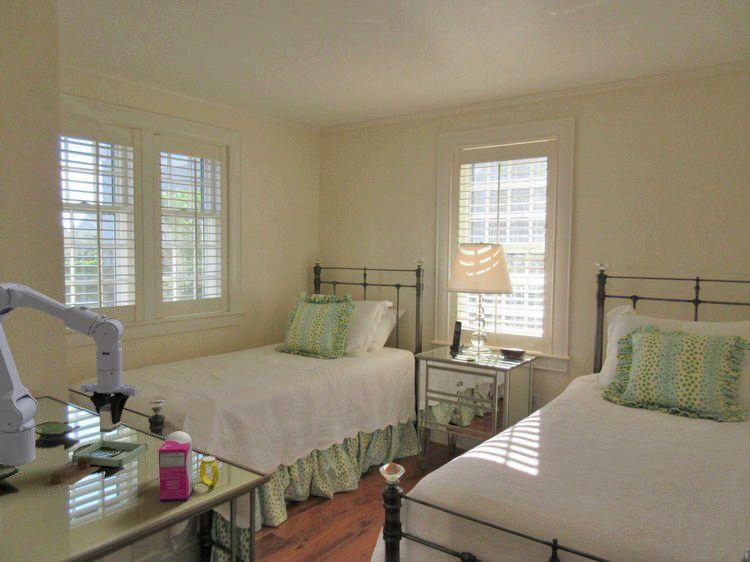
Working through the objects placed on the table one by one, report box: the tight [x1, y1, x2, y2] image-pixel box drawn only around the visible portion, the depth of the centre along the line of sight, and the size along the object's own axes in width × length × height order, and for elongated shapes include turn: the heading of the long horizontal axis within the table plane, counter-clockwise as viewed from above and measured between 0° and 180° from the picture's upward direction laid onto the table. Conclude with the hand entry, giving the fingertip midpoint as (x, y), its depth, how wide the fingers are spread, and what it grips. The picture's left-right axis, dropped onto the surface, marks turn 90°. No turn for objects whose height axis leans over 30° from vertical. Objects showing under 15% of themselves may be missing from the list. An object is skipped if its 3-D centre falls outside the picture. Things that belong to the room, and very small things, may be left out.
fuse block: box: [39, 457, 102, 486], centre depth 128 cm, size 8×10×3 cm
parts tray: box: [71, 439, 149, 468], centre depth 139 cm, size 13×11×2 cm
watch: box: [199, 456, 219, 487], centre depth 126 cm, size 6×3×6 cm, turn 47°
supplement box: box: [157, 438, 194, 503], centre depth 120 cm, size 6×6×12 cm
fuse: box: [99, 403, 122, 433], centre depth 138 cm, size 3×4×6 cm, turn 170°
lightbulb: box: [164, 430, 192, 442], centre depth 128 cm, size 6×6×11 cm
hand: (110, 422), depth 139 cm, fingers closed on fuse, 3 cm apart
